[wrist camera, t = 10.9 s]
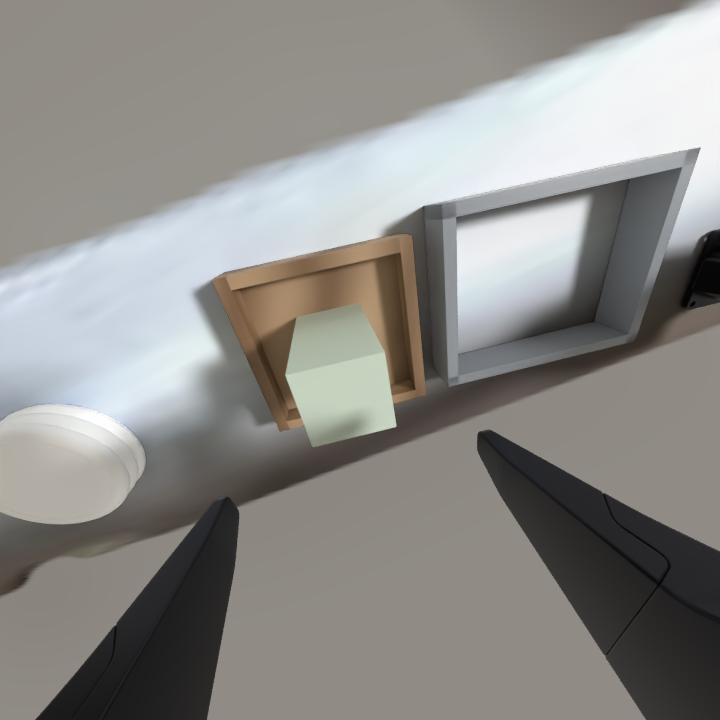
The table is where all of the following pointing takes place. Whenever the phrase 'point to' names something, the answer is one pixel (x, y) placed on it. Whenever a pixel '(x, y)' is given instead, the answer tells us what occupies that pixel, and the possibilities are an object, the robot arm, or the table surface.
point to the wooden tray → (323, 292)
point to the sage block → (339, 376)
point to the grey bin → (622, 281)
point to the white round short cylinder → (65, 464)
